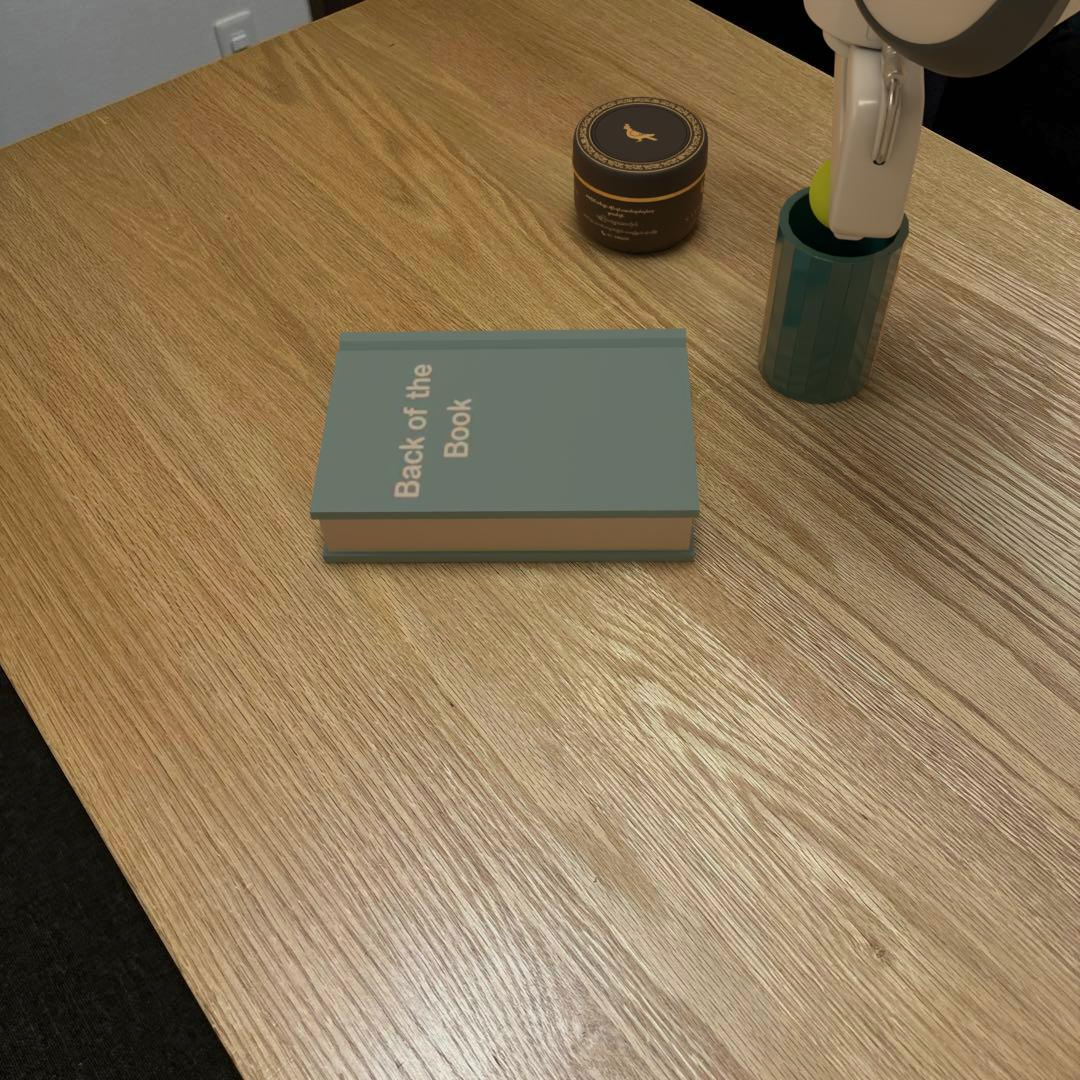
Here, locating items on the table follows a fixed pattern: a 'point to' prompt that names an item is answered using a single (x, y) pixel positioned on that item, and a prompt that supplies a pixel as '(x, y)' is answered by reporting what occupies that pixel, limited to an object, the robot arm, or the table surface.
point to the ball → (821, 193)
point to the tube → (825, 305)
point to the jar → (639, 173)
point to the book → (508, 447)
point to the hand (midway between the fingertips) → (848, 200)
